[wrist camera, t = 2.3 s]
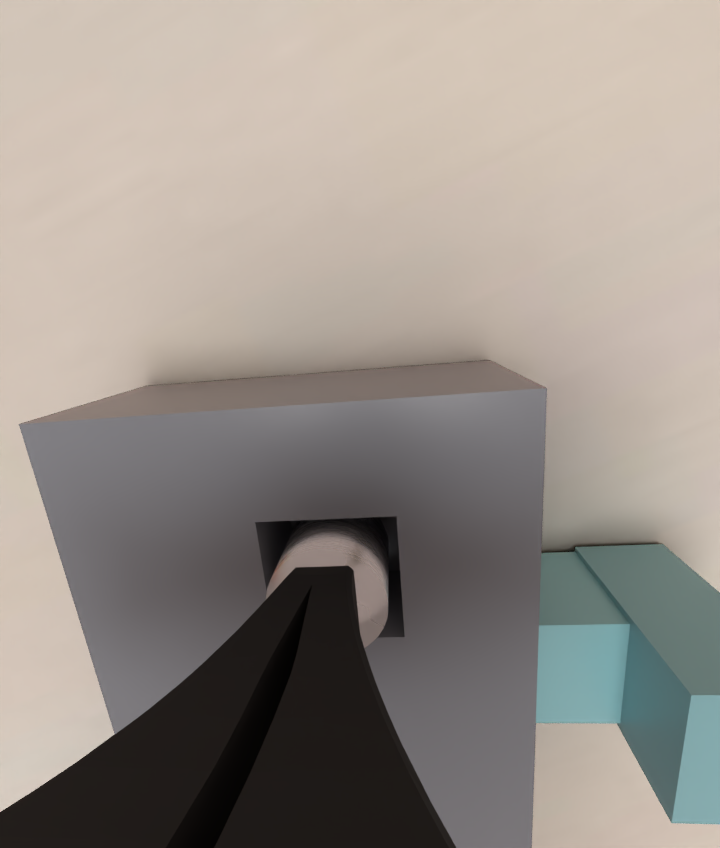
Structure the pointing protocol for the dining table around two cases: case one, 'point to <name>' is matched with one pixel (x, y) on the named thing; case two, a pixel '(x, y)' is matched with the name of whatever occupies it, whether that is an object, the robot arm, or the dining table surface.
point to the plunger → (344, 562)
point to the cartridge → (637, 664)
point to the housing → (313, 500)
